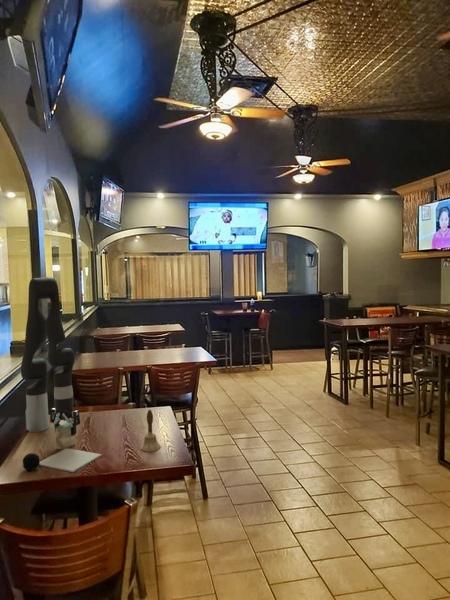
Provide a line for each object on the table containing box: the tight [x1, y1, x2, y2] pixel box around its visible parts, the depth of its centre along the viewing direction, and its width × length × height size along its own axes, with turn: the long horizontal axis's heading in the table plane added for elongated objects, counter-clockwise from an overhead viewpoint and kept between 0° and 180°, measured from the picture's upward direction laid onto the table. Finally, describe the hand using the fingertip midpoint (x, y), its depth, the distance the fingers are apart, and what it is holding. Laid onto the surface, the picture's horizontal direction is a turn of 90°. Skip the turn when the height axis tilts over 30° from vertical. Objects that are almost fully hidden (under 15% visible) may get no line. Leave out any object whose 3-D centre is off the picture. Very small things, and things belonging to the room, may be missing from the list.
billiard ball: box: [22, 452, 41, 471], centre depth 172 cm, size 6×6×6 cm
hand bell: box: [139, 409, 161, 453], centre depth 190 cm, size 8×8×16 cm
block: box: [54, 421, 77, 451], centre depth 195 cm, size 4×7×9 cm, turn 156°
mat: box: [38, 447, 102, 473], centre depth 180 cm, size 18×16×1 cm
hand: (65, 433), depth 194 cm, fingers open, 8 cm apart
